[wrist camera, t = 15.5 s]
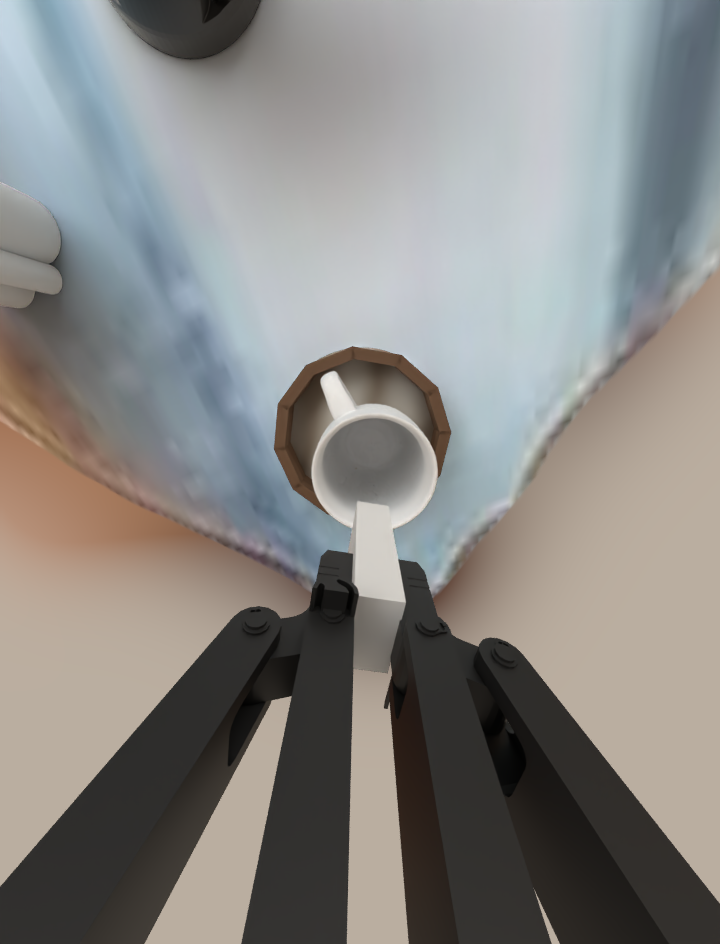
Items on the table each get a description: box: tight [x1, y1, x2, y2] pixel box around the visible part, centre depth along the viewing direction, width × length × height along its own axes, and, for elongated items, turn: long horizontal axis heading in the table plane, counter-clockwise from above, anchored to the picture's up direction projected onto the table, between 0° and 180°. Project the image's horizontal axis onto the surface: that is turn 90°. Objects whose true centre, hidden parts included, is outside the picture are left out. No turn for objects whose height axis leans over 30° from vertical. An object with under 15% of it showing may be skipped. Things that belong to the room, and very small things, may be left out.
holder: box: [274, 346, 451, 515], centre depth 39 cm, size 20×20×4 cm
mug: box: [311, 371, 438, 529], centre depth 34 cm, size 15×11×13 cm
